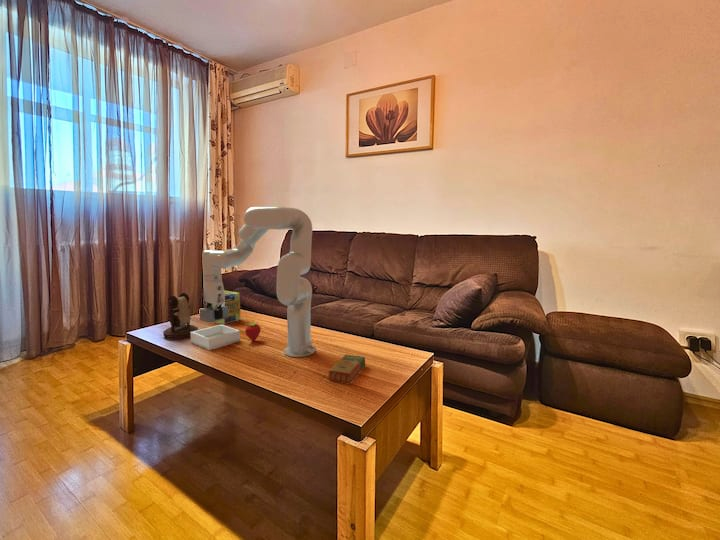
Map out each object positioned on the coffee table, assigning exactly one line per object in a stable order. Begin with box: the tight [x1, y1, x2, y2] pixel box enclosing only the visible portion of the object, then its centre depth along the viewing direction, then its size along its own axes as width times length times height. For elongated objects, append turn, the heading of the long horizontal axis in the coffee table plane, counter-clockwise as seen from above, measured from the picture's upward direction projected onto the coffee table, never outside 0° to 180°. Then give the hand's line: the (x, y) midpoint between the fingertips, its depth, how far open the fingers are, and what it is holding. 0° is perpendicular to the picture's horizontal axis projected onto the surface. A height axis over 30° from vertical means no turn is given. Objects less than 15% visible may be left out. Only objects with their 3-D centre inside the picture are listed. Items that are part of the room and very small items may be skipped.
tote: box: [190, 323, 241, 351], centre depth 156 cm, size 15×15×5 cm
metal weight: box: [199, 305, 229, 323], centre depth 155 cm, size 6×10×5 cm, turn 152°
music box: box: [163, 292, 199, 340], centre depth 164 cm, size 15×15×20 cm
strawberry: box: [244, 320, 262, 342], centre depth 157 cm, size 6×8×10 cm
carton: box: [328, 354, 366, 385], centre depth 126 cm, size 8×16×4 cm, turn 161°
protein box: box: [212, 289, 242, 325], centre depth 190 cm, size 10×15×16 cm
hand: (214, 316), depth 155 cm, fingers closed on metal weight, 7 cm apart
